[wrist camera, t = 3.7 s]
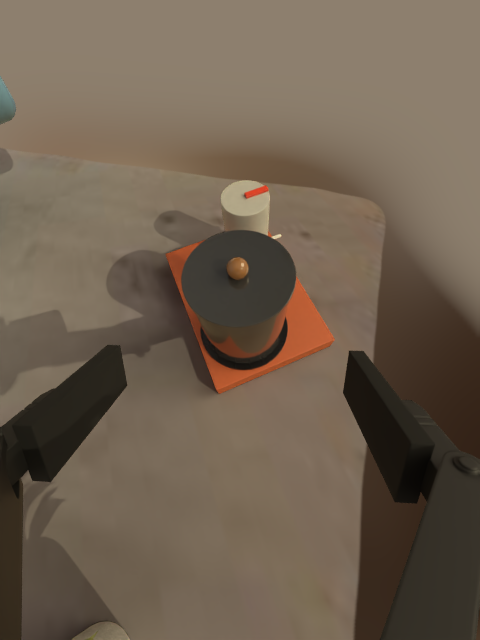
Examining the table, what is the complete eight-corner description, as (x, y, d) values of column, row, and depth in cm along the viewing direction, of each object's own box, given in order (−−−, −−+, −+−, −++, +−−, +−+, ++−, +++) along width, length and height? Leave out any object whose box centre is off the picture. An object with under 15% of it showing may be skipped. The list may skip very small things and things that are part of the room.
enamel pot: (193, 308, 30) (161, 238, 20) (263, 281, 31) (266, 200, 21) (220, 379, 27) (198, 338, 16) (298, 345, 28) (323, 287, 17)
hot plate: (167, 258, 36) (162, 247, 34) (264, 222, 37) (265, 210, 36) (218, 394, 28) (216, 390, 26) (338, 342, 30) (344, 335, 28)
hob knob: (236, 269, 32) (231, 220, 25) (221, 240, 34) (212, 186, 27) (273, 255, 33) (278, 203, 26) (257, 227, 35) (257, 171, 27)
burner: (189, 308, 30) (188, 306, 30) (265, 278, 31) (265, 277, 31) (218, 385, 27) (218, 384, 26) (303, 348, 28) (303, 347, 27)
